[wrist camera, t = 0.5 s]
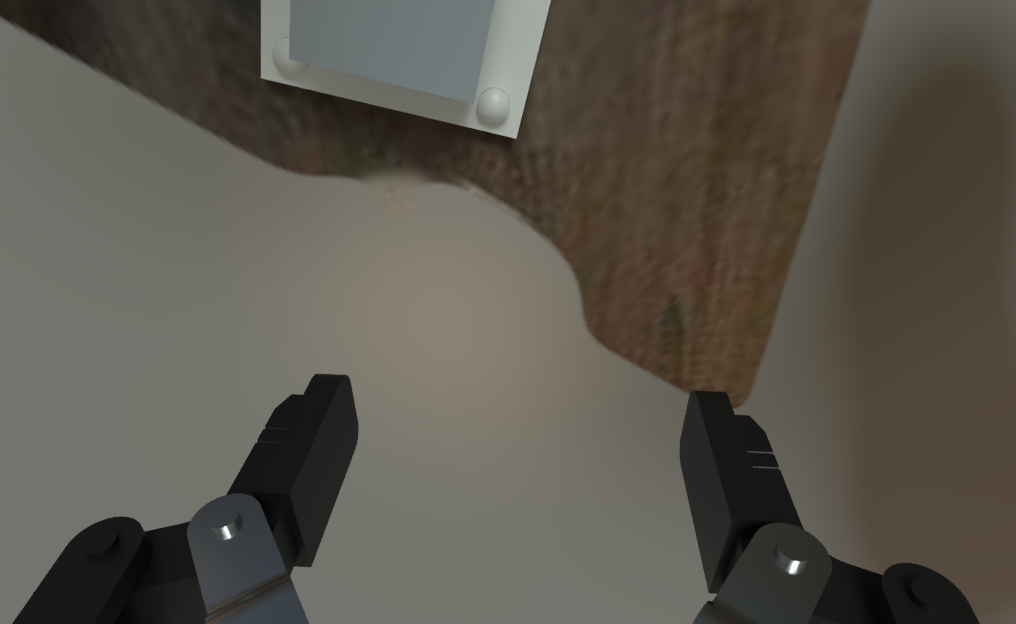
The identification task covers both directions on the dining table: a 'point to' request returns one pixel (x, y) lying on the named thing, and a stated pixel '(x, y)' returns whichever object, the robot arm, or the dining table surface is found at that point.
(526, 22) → the baseplate
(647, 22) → the dining table surface
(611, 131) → the dining table surface
